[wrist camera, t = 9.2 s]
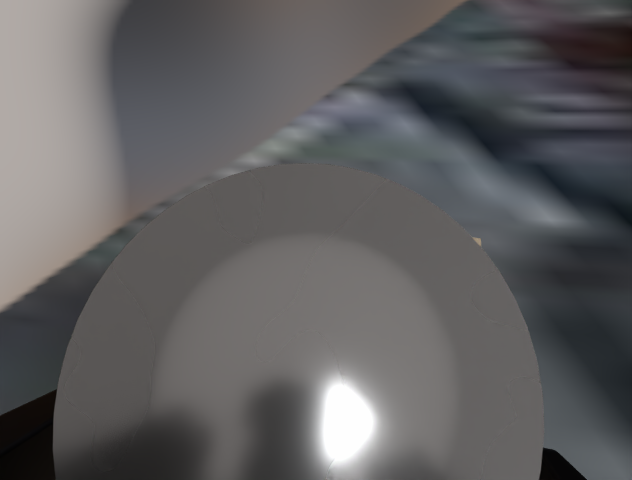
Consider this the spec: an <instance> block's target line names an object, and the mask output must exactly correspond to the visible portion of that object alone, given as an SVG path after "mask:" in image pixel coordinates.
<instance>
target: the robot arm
mask: <svg viewBox="0 0 632 480" xmlns="http://www.w3.org/2000/svg"><path fill="white" fill-rule="evenodd" d="M56 394H57V389H56V390H54V391H52V392H50V393H48V394H46V395H43V396H41V397H39V398H37V399H35V400H33V401H31V402H28V403H26V404H24V405H22V406H20V407H18V408H16V409H13V410H11V411H9V412H7V413H5V414H3V415H1V416H0V480H56V477H55V467H54V457H53V420H54V408H55V401H56ZM539 480H587V479H586V478H585V477H584V476H583V475H581V474H580V473H579V472H578V471H577V470H576V469H575V468H574V467H573V466H572V465H571V464H570V463H569V462H568V461H567V460H566V459H565V458H563V457H562V456H561V455H560V454H559V453H558V452H556V451H555V450H552V449H547V448H543V451H542V462H541V471H540V476H539Z"/></svg>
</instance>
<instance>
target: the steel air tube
mask: <svg viewBox="0 0 632 480" xmlns="http://www.w3.org/2000/svg"><path fill="white" fill-rule="evenodd" d="M543 440H544V414H543V394H542V387H541V381H540V375H539V369H538V363H537V358H536V355H535V352H534V348H533V345H532V341H531V338H530V335H529V331H528V328H527V325H526V323H525V321H524V318H523V316H522V314H521V311H520V309H519V307H518V304H517V302H516V300H515V298H514V296H513V294H512V292H511V291H510V289H509V287H508V285H507V284H506V282H505V280H504V278H503V277H502V275H501V273H500V272H499V270H498V269H497V268H496V266H495V265H494V263H493V262H492V261H491V259H490V258H489V257H488V255H487V254H486V253H485V251H484V250H483V249H482V247H481V246H480V245H479V244H478V243H477V242H476V241H475V240H474V239H473V238H472V237H471V236H470V235H469V233H468V232H467V231H466V230H465V229H464V228H463V227H462V226H461V225H459V224H458V223H457V222H456V221H455V220H453V219H452V218H451V217H450V216H449V215H448V214H446V213H445V212H444V211H443V210H442V209H440V208H439V207H437V206H436V205H434V204H433V203H431V202H430V201H428V200H427V199H425V198H424V197H422V196H421V195H419V194H417V193H415V192H413V191H411V190H410V189H408V188H406V187H404V186H402V185H400V184H398V183H396V182H393V181H390V180H388V179H385V178H383V177H380V176H378V175H375V174H371V173H368V172H364V171H360V170H357V169H353V168H348V167H341V166H335V165H329V164H310V163H299V164H281V165H274V166H268V167H262V168H256V169H253V170H249V171H245V172H242V173H238V174H234V175H231V176H229V177H226V178H224V179H221V180H218V181H216V182H213V183H211V184H209V185H207V186H205V187H203V188H201V189H199V190H197V191H195V192H193V193H191V194H189V195H187V196H186V197H184V198H183V199H181V200H180V201H178V202H177V203H175V204H173V205H172V206H170V207H169V208H167V209H166V210H165V211H163V212H162V213H161V214H160V215H158V216H157V217H156V218H155V219H153V220H152V221H151V222H150V223H149V224H147V225H146V226H145V227H144V228H143V229H142V230H141V231H140V232H139V233H138V234H137V235H136V236H135V237H134V238H133V239H132V240H131V241H130V242H129V243H128V244H127V245H126V246H125V247H124V248H123V250H122V251H121V252H120V253H119V255H118V256H117V257H116V258H115V259H114V261H113V262H112V263H111V264H110V266H109V267H108V268H107V270H106V271H105V273H104V274H103V276H102V277H101V279H100V280H99V282H98V283H97V285H96V287H95V288H94V290H93V291H92V293H91V295H90V297H89V299H88V301H87V303H86V305H85V307H84V308H83V310H82V312H81V314H80V316H79V318H78V321H77V323H76V326H75V328H74V331H73V334H72V336H71V339H70V341H69V344H68V347H67V350H66V354H65V357H64V361H63V365H62V369H61V373H60V376H59V380H58V387H57V394H56V401H55V408H54V420H53V457H54V467H55V477H56V480H539V476H540V471H541V462H542V451H543Z"/></svg>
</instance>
